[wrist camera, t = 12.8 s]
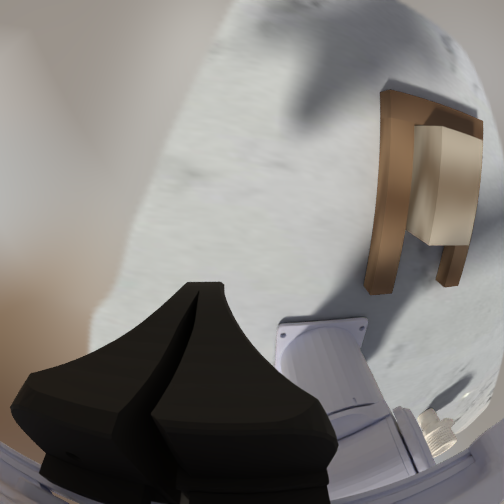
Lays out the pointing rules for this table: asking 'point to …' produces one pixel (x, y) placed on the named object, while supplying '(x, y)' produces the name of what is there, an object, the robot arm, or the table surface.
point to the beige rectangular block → (444, 185)
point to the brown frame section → (407, 186)
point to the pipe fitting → (436, 432)
